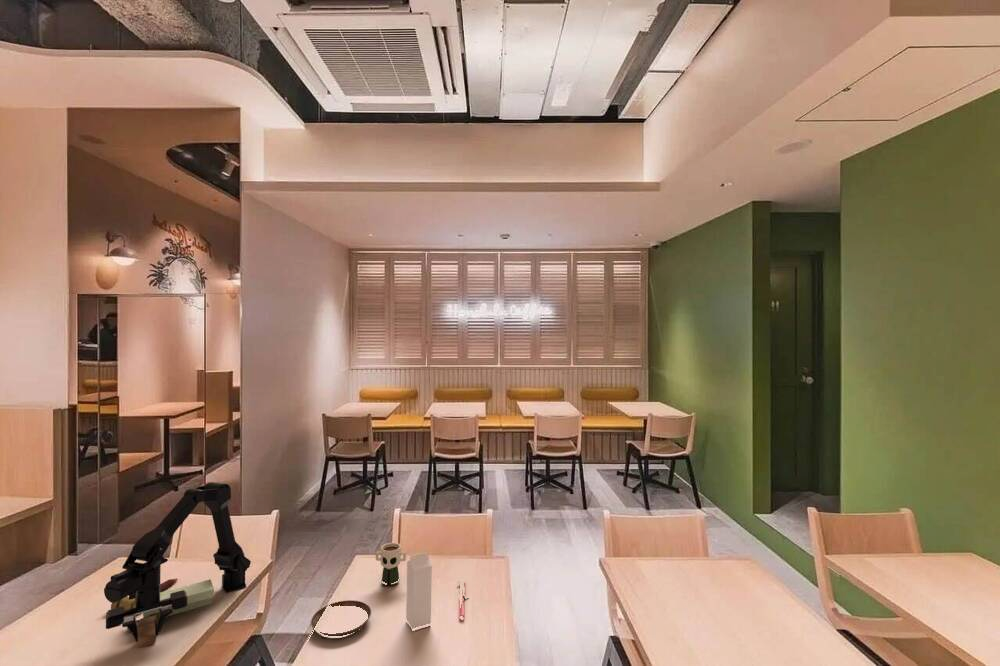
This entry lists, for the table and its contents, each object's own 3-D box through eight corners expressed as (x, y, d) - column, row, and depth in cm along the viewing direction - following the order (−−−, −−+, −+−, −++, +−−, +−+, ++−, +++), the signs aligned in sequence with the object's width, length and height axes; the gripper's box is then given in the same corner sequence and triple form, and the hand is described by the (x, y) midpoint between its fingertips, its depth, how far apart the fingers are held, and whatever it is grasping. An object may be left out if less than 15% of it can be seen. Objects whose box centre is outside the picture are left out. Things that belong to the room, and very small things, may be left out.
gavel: (165, 571, 173) (190, 573, 172) (164, 584, 173) (189, 587, 172) (110, 599, 153) (139, 601, 151) (109, 614, 152) (137, 617, 151)
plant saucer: (300, 643, 140) (300, 632, 140) (323, 608, 158) (323, 599, 158) (361, 644, 140) (361, 634, 140) (377, 609, 157) (377, 600, 157)
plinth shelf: (210, 600, 161) (210, 579, 161) (213, 610, 155) (214, 588, 155) (143, 619, 149) (143, 596, 149) (144, 631, 144) (144, 607, 144)
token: (146, 624, 147) (146, 618, 147) (140, 632, 144) (140, 626, 144) (131, 626, 146) (131, 620, 146) (124, 634, 142) (124, 628, 142)
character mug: (372, 587, 170) (373, 551, 170) (377, 577, 177) (378, 542, 177) (403, 588, 170) (404, 551, 170) (407, 578, 177) (407, 542, 177)
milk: (430, 627, 148) (432, 555, 148) (411, 632, 145) (413, 559, 145) (423, 616, 154) (425, 547, 154) (405, 621, 151) (407, 551, 151)
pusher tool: (163, 617, 150) (162, 598, 150) (155, 643, 138) (154, 622, 138) (147, 620, 148) (147, 601, 148) (137, 647, 136) (137, 626, 136)
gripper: (183, 563, 151) (183, 613, 151) (106, 582, 139) (106, 636, 139) (188, 578, 142) (187, 631, 142) (106, 599, 130) (105, 657, 130)
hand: (147, 638), depth 138 cm, fingers closed on pusher tool, 4 cm apart
